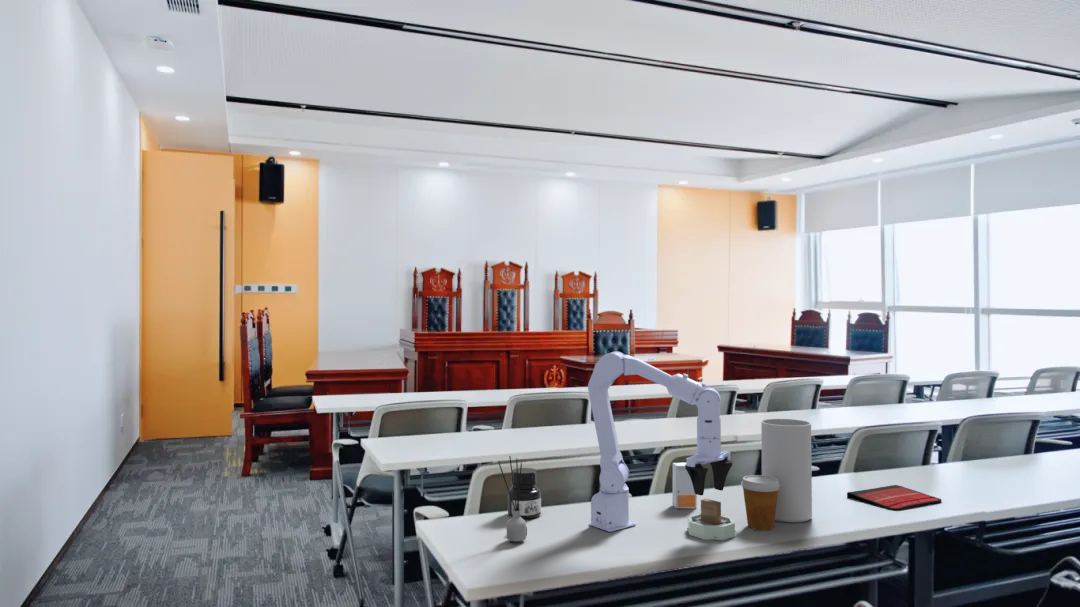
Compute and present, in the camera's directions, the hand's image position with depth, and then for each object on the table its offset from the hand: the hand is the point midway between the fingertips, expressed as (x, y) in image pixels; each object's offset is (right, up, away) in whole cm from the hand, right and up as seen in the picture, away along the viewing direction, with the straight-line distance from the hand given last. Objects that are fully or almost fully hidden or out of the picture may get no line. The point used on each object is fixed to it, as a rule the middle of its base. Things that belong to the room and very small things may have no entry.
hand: (709, 492), depth 175 cm
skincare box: (-1, -10, +23) cm, 25 cm away
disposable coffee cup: (+14, -10, +4) cm, 18 cm away
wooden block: (0, -9, -1) cm, 9 cm away
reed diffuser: (-49, -10, -6) cm, 50 cm away
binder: (+61, -11, +29) cm, 68 cm away
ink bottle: (-46, -11, +15) cm, 50 cm away
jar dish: (0, -10, -1) cm, 10 cm away
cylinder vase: (+24, -10, +13) cm, 29 cm away
